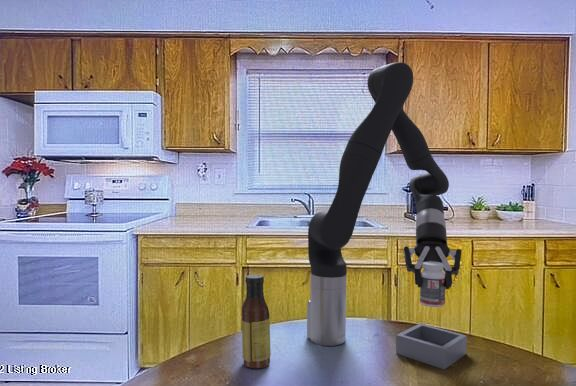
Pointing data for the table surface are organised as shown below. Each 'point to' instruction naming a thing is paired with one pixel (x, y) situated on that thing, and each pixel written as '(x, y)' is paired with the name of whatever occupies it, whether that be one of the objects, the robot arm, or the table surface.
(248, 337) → the sauce bottle
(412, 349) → the bin
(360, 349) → the table surface
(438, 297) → the pill bottle
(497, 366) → the table surface
